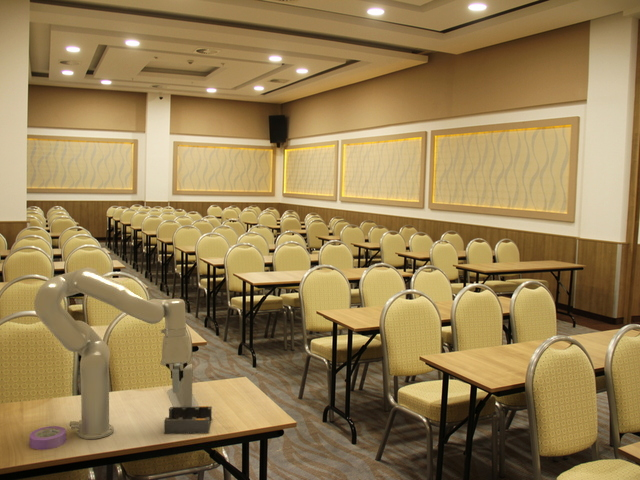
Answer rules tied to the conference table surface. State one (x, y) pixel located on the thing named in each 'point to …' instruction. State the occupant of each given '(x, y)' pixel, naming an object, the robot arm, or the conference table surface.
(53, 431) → the masking tape
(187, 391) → the wireless router
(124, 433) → the conference table surface
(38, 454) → the conference table surface
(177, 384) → the panel
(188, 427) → the rack
